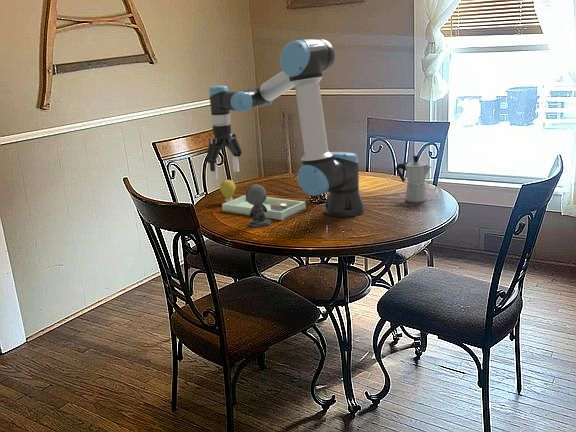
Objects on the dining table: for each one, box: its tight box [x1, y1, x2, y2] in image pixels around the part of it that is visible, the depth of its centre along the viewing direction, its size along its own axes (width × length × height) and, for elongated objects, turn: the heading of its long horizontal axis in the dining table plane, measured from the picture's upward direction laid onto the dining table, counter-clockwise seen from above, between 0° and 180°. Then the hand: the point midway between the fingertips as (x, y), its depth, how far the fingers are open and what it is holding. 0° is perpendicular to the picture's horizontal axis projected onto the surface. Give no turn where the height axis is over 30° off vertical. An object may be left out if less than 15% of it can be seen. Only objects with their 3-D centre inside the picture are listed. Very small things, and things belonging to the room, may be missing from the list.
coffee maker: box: [395, 155, 432, 204], centre depth 232 cm, size 15×9×18 cm, turn 56°
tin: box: [270, 202, 288, 211], centre depth 229 cm, size 7×7×3 cm
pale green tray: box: [221, 194, 307, 221], centre depth 234 cm, size 30×16×3 cm, turn 54°
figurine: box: [245, 183, 273, 229], centre depth 215 cm, size 9×10×15 cm
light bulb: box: [219, 179, 237, 203], centre depth 247 cm, size 7×7×10 cm
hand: (225, 174), depth 245 cm, fingers open, 13 cm apart
